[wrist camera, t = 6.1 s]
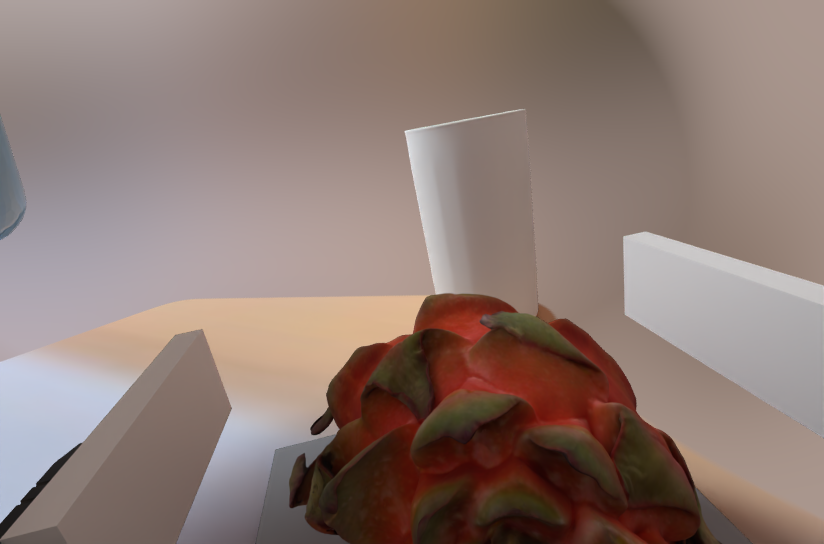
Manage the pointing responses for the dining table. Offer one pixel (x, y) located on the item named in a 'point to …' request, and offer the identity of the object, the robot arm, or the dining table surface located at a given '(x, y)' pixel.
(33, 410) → the dining table surface
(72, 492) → the robot arm
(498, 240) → the mug
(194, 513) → the dining table surface
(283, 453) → the grey square tile
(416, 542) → the dragon fruit
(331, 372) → the dining table surface
